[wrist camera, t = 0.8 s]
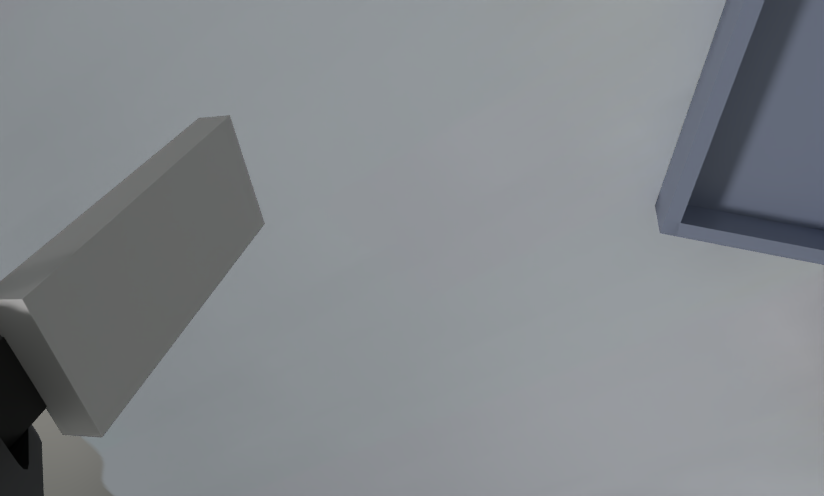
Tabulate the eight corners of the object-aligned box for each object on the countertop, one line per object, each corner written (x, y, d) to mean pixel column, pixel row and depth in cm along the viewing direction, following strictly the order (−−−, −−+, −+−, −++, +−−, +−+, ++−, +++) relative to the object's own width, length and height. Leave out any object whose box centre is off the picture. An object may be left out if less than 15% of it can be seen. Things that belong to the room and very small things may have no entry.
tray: (773, -134, 28) (790, -129, 26) (1020, -103, 27) (1063, -95, 25) (655, 205, 38) (660, 233, 35) (835, 239, 36) (853, 270, 34)
